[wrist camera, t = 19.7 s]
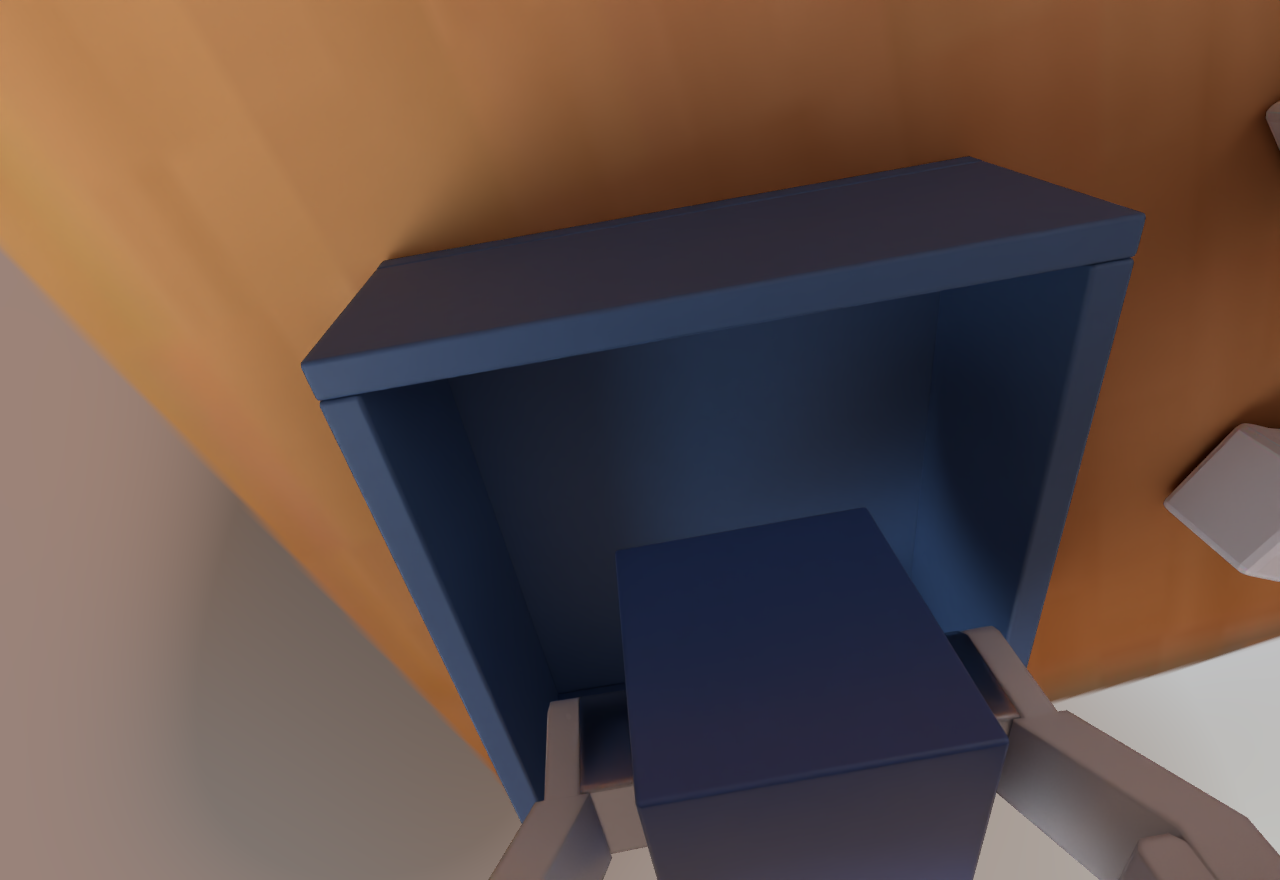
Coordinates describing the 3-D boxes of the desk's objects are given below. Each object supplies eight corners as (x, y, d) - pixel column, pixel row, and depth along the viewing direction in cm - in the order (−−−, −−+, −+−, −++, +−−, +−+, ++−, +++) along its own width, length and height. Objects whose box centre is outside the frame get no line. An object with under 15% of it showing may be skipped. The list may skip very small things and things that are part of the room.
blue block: (613, 548, 11) (634, 806, 8) (866, 504, 11) (1013, 740, 7) (650, 705, 14) (679, 959, 10) (858, 669, 14) (966, 910, 10)
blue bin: (382, 260, 12) (296, 364, 8) (970, 154, 12) (1150, 212, 8) (543, 694, 19) (536, 856, 16) (915, 630, 19) (999, 776, 16)
